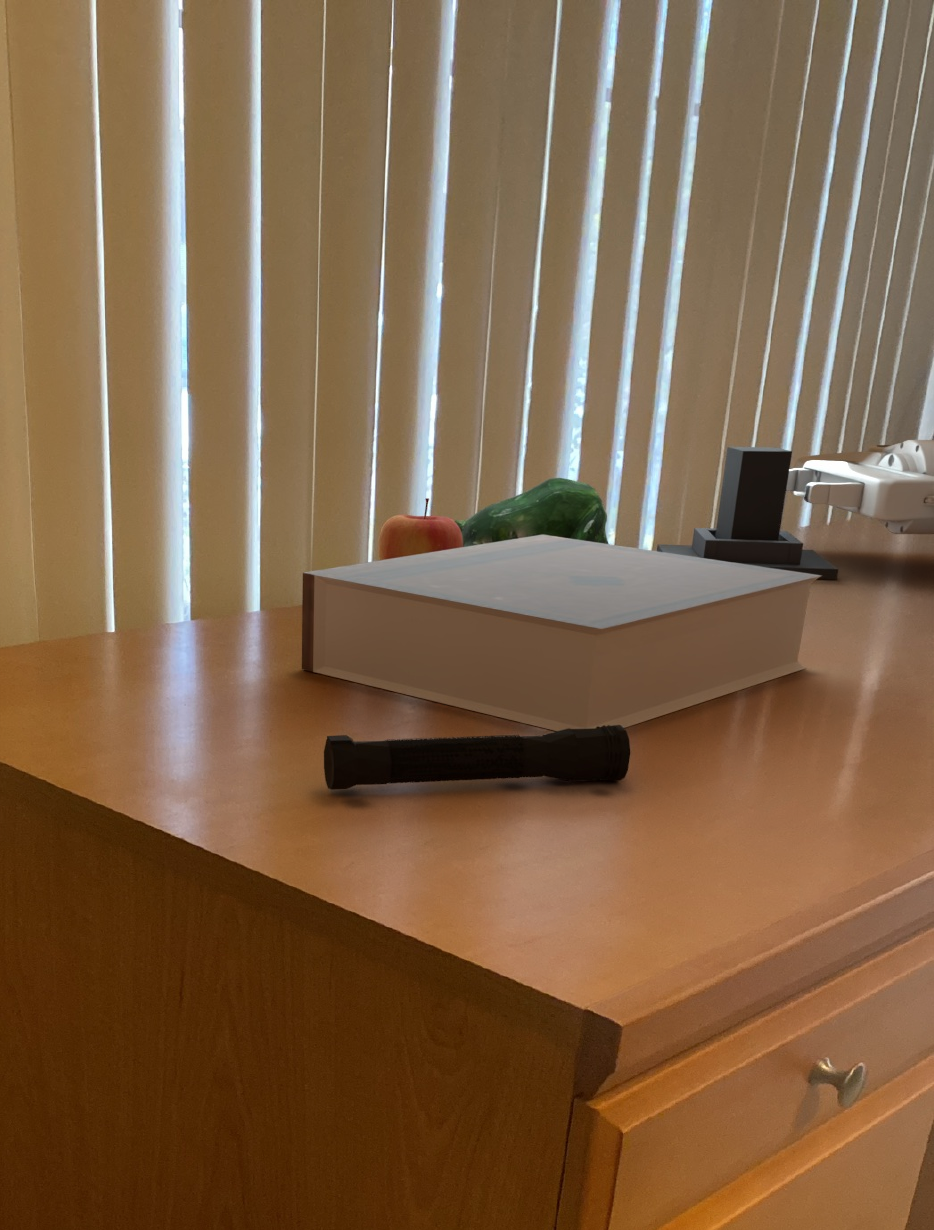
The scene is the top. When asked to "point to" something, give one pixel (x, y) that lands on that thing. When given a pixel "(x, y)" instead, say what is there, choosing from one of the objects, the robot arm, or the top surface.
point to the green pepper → (541, 515)
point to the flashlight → (479, 758)
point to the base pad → (756, 553)
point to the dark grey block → (753, 493)
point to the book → (555, 629)
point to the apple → (417, 535)
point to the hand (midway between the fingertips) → (787, 487)
